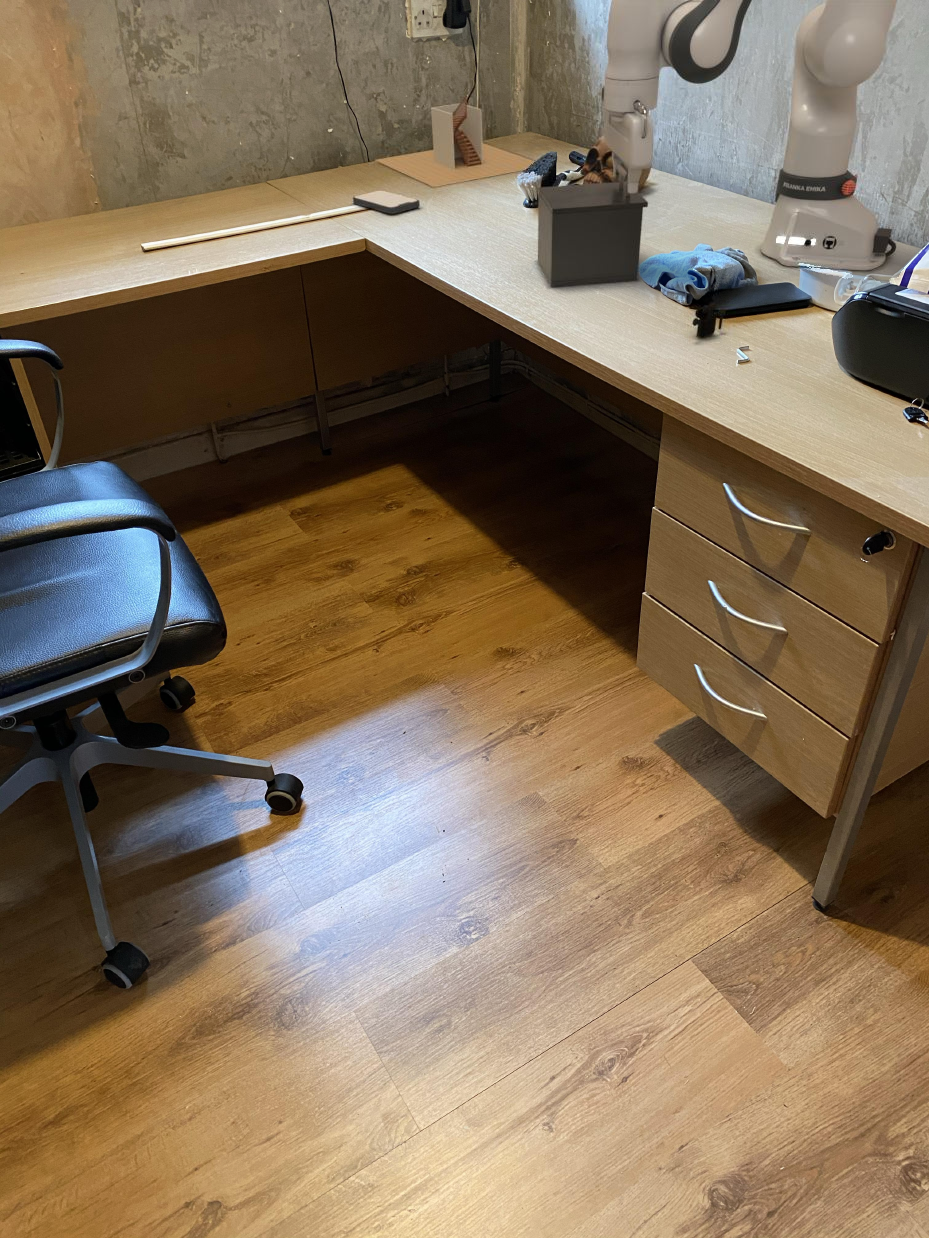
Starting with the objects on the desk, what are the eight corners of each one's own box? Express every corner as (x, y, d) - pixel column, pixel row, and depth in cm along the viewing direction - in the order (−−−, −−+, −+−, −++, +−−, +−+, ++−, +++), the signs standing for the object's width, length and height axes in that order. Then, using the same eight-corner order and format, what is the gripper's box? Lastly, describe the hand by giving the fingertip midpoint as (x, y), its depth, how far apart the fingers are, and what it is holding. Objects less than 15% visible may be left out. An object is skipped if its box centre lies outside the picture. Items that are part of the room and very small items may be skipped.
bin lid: (627, 186, 166) (629, 156, 163) (647, 207, 155) (650, 175, 152) (538, 192, 166) (538, 162, 162) (552, 214, 154) (553, 182, 151)
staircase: (453, 169, 232) (450, 96, 221) (434, 161, 239) (430, 89, 229) (483, 164, 235) (481, 91, 224) (463, 156, 242) (460, 85, 232)
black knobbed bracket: (693, 343, 140) (697, 311, 137) (681, 338, 142) (685, 306, 139) (724, 331, 143) (729, 300, 140) (712, 327, 145) (717, 295, 142)
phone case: (351, 204, 211) (391, 216, 201) (350, 197, 210) (390, 208, 200) (381, 196, 215) (422, 207, 205) (381, 189, 214) (422, 200, 204)
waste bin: (618, 255, 174) (623, 186, 166) (637, 280, 163) (643, 207, 155) (537, 261, 173) (538, 192, 166) (551, 287, 162) (552, 214, 155)
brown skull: (575, 203, 202) (580, 136, 195) (582, 192, 216) (587, 128, 209) (645, 207, 200) (653, 139, 192) (648, 195, 214) (655, 131, 206)
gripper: (666, 106, 143) (658, 199, 152) (634, 84, 159) (628, 170, 168) (627, 109, 143) (621, 202, 151) (599, 87, 158) (595, 172, 167)
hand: (624, 185), depth 160 cm, fingers open, 8 cm apart
